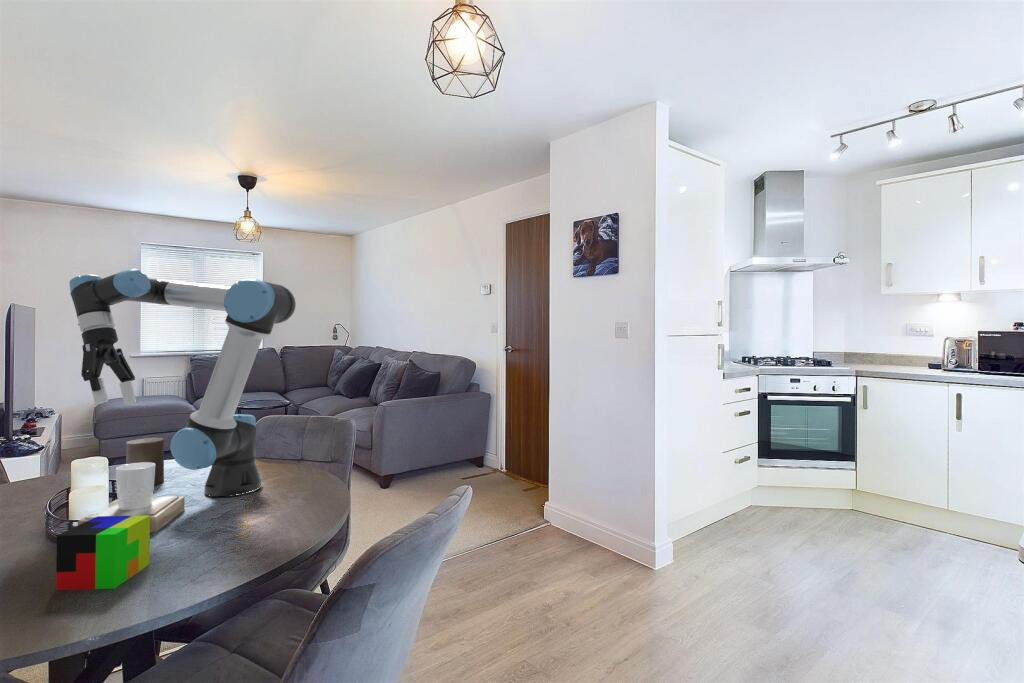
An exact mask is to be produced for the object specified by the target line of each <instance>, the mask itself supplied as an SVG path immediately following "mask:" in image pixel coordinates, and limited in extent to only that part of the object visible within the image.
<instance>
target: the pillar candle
mask: <svg viewBox="0 0 1024 683" xmlns="http://www.w3.org/2000/svg"><path fill="white" fill-rule="evenodd" d="M164 452H165V439H164V438H163V437H147V436H146V435H145V437H144V438H137V439H132V440H129V441H126V452H125V453H126V454H125V455H126V457H125V459H126V464H131V463H141V462H151V463H155V478H154V486H156V485H159V484H162V483H164V482H165V464H164V463H165V462H164V461H165V453H164ZM126 464H125V465H126Z"/></svg>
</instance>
